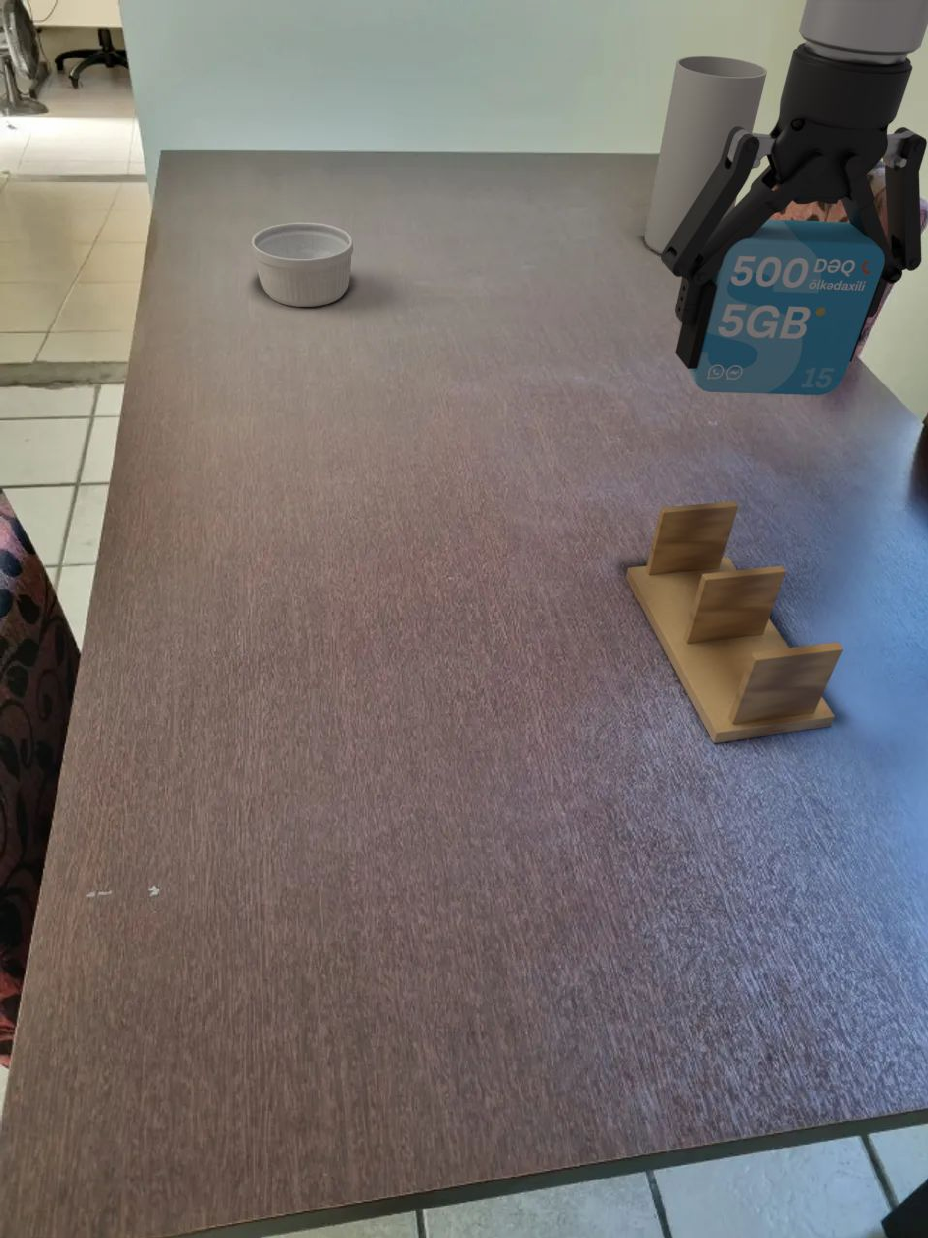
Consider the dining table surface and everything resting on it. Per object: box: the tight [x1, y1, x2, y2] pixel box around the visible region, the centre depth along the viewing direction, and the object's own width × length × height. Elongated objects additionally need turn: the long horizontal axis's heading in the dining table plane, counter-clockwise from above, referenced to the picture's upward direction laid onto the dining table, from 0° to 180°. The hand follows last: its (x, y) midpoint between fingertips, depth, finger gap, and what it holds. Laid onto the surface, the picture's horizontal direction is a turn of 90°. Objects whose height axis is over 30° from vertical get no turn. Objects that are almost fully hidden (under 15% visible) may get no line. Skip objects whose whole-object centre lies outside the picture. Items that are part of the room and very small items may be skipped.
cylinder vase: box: [644, 55, 768, 255], centre depth 139 cm, size 12×12×25 cm
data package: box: [689, 218, 885, 396], centre depth 72 cm, size 12×4×12 cm, turn 93°
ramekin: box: [251, 222, 354, 308], centre depth 126 cm, size 13×13×7 cm
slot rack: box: [625, 500, 844, 744], centre depth 77 cm, size 10×20×8 cm, turn 12°
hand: (763, 357), depth 75 cm, fingers closed on data package, 12 cm apart
